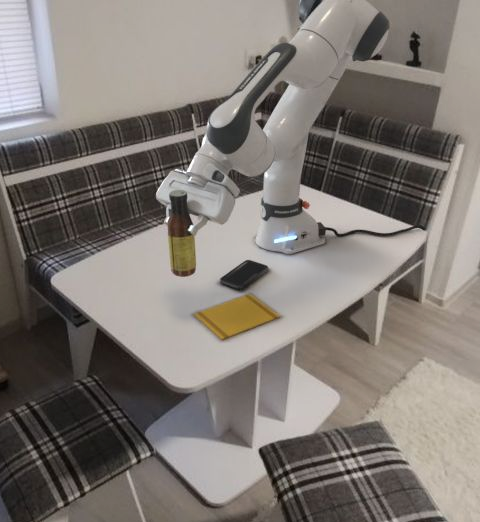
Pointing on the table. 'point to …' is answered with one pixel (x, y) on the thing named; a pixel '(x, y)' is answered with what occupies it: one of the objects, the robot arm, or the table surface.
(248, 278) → the phone
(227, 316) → the tray
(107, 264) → the table surface
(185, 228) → the sauce bottle
